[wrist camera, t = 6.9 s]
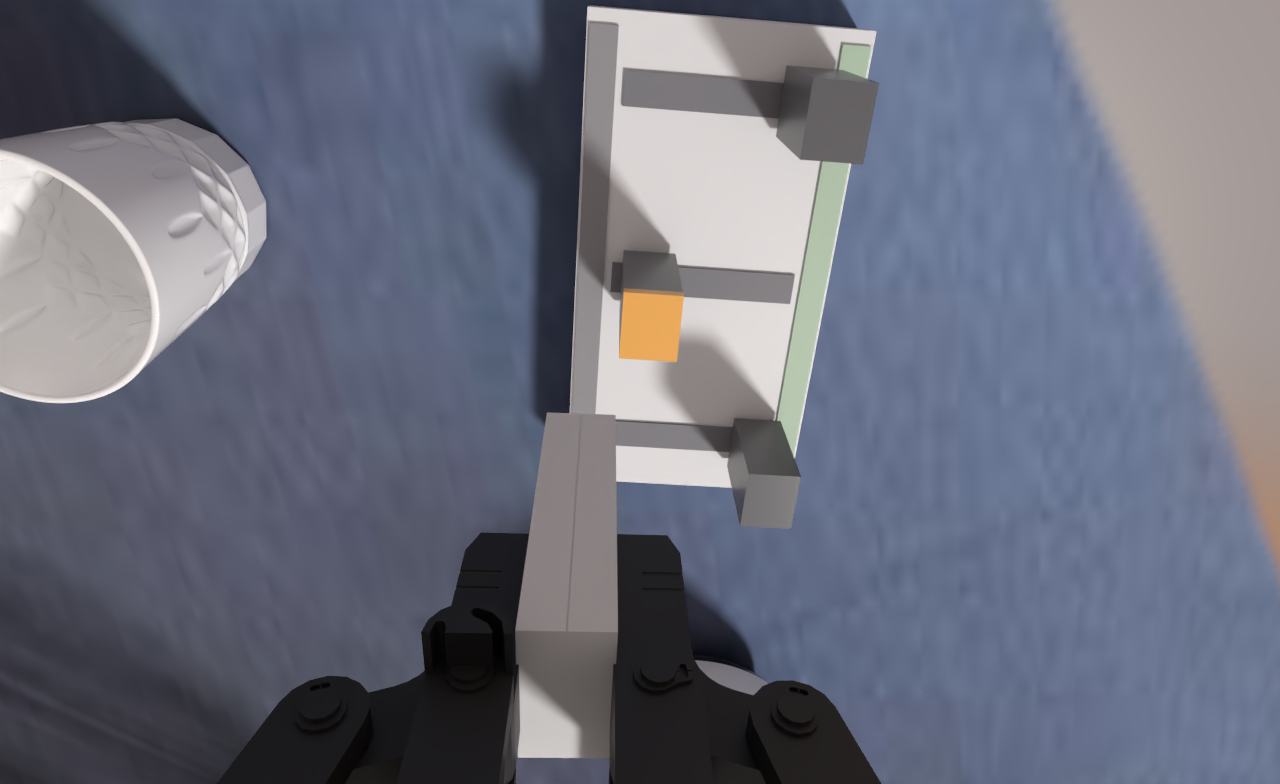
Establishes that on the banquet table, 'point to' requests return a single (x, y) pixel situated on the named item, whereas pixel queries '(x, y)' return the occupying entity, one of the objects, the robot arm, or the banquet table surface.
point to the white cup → (114, 249)
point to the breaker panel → (702, 230)
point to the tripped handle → (650, 306)
